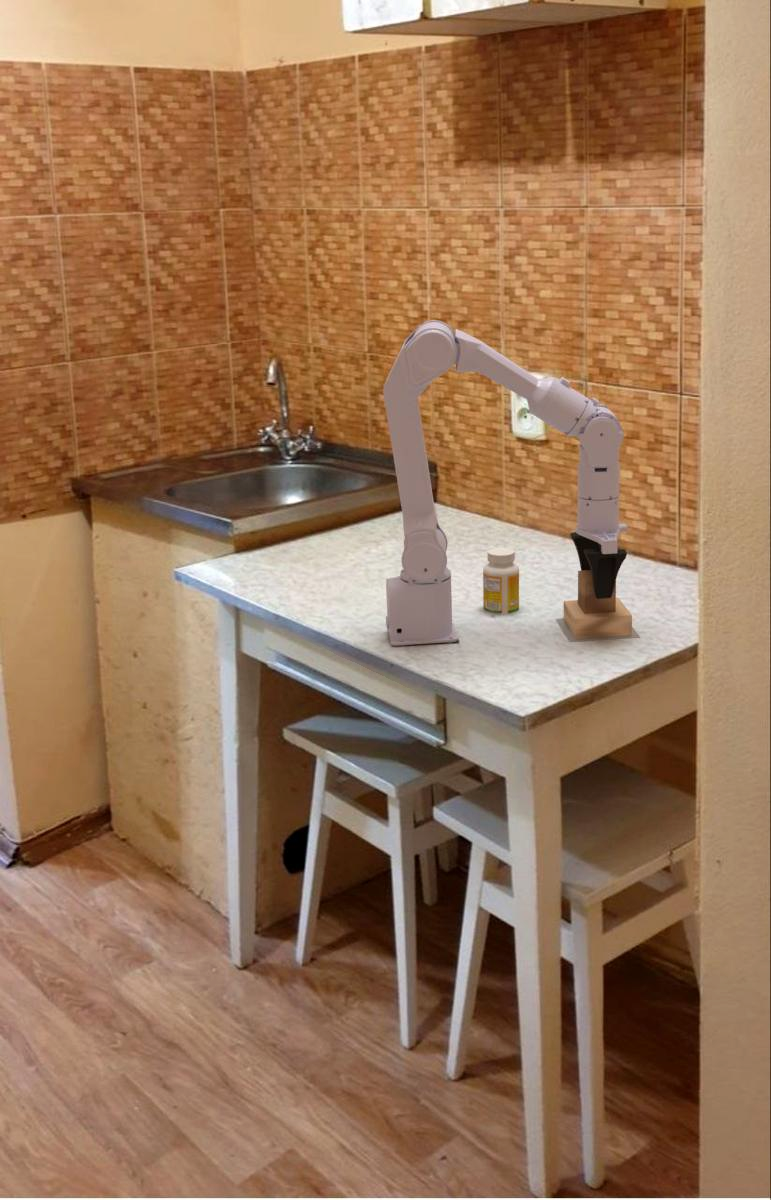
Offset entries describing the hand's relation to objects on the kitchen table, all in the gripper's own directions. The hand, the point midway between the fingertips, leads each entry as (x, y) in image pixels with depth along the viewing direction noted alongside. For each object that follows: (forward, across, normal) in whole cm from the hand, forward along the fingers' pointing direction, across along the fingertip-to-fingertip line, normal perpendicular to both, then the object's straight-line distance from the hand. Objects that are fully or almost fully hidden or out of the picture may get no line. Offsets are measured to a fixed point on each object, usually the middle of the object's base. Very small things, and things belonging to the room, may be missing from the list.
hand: (597, 589), depth 183 cm
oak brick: (+6, 0, 0) cm, 6 cm away
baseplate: (+6, 0, 0) cm, 6 cm away
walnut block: (+3, 0, 0) cm, 3 cm away
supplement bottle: (+7, +11, +12) cm, 18 cm away
